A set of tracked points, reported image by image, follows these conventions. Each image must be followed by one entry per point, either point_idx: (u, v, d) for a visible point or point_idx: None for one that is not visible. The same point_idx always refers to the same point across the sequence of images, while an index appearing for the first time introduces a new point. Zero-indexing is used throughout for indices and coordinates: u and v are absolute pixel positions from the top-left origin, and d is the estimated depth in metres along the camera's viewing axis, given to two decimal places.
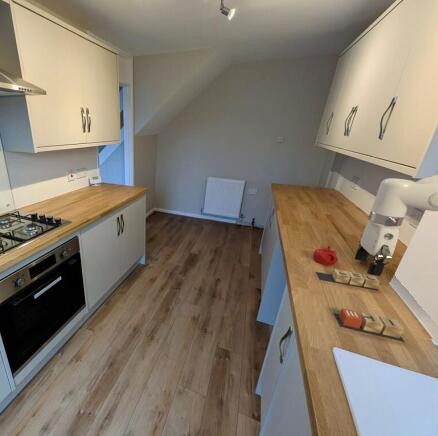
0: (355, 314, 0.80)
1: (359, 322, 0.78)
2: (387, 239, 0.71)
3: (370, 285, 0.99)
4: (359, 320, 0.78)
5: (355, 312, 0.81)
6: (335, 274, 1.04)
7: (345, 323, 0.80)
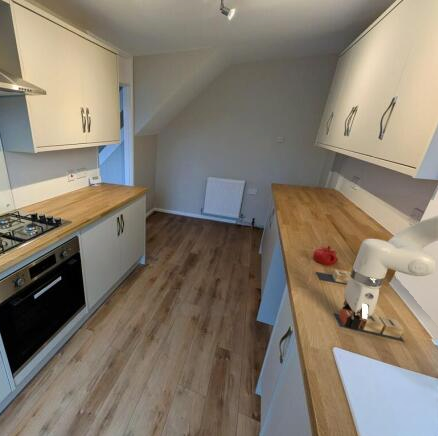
0: (355, 314, 0.80)
1: None
2: (368, 298, 0.73)
3: None
4: None
5: None
6: (335, 274, 1.04)
7: (345, 323, 0.80)
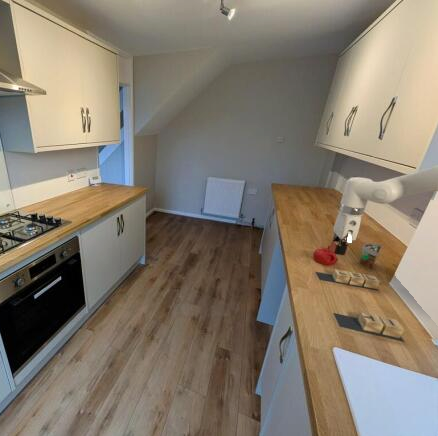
0: None
1: None
2: (352, 225, 0.89)
3: (370, 285, 0.99)
4: None
5: None
6: (335, 274, 1.04)
7: (334, 251, 0.96)
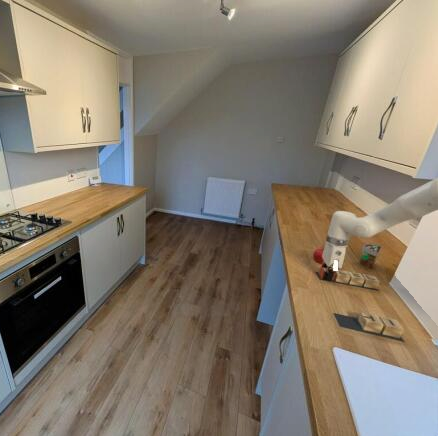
0: None
1: None
2: (337, 255, 0.98)
3: (370, 285, 0.99)
4: None
5: None
6: (335, 274, 1.04)
7: (322, 277, 1.05)
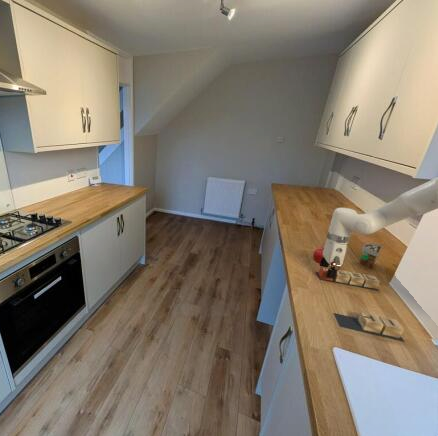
0: None
1: None
2: (338, 252, 0.97)
3: (370, 285, 0.99)
4: None
5: None
6: None
7: (322, 277, 1.05)
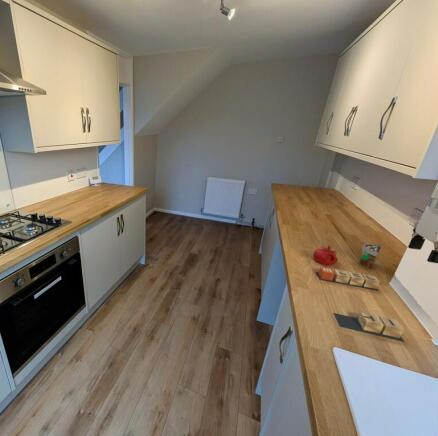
0: (330, 270, 1.05)
1: (332, 275, 1.03)
2: None
3: (370, 285, 0.99)
4: (332, 274, 1.03)
5: (330, 269, 1.06)
6: (335, 274, 1.04)
7: (322, 277, 1.05)
